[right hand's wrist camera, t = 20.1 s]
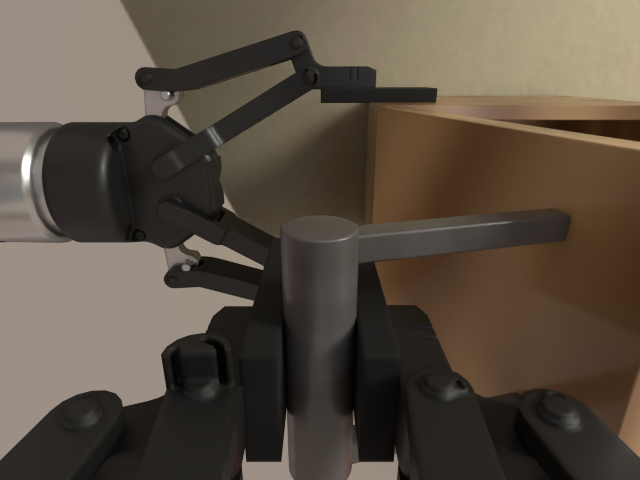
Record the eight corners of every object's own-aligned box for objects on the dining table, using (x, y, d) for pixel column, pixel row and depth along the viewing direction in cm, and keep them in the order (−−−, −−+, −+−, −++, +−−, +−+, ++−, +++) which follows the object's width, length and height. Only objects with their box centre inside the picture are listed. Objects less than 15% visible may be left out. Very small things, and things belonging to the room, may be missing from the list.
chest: (567, 95, 31) (676, 105, 22) (542, 224, 35) (626, 283, 25) (368, 96, 32) (386, 105, 22) (364, 223, 35) (377, 281, 25)
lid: (751, 157, 8) (313, 186, 6) (615, 538, 11) (316, 634, 9) (397, 105, 21) (232, 109, 19) (386, 284, 25) (246, 302, 23)
